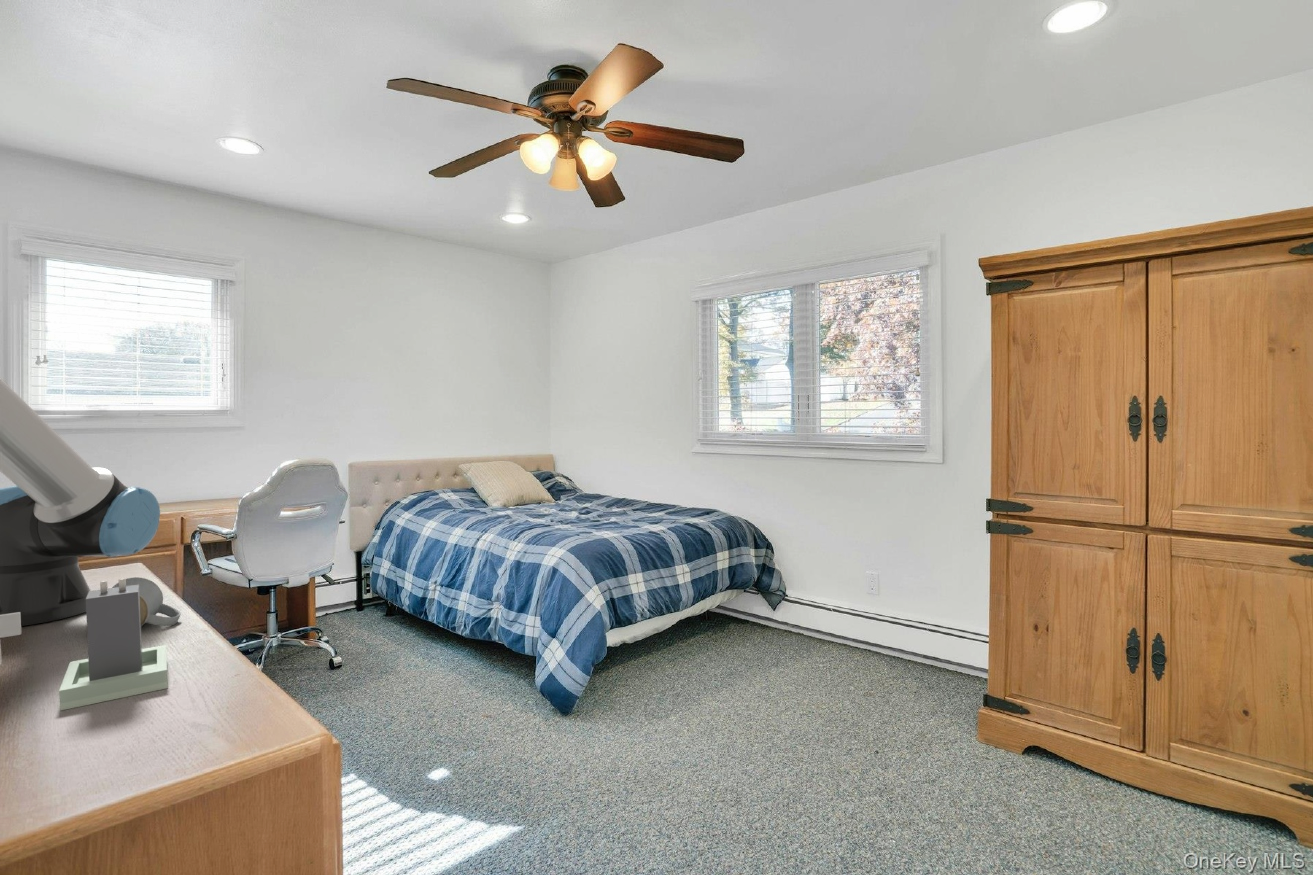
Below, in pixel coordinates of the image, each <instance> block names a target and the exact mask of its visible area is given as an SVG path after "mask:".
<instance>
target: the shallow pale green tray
mask: <svg viewBox="0 0 1313 875" xmlns="http://www.w3.org/2000/svg"><path fill="white" fill-rule="evenodd" d="M167 659H168V658H167V644H164V645H159V646H152V647H148V648H142V665H143V668H142V671H140V672H135V673H130V674H125V675H119V676H114V677H109V678H104V679H99V680H94V681H89V660H88V658H85V659H78V660H73V661H70V662H69V664H68V667H67V669H66V672H65V674H64V677H63V679H62V682H61V685H60V687H59V690H58V692H59V693H58V696H59V699H58V700H59V711H60V712H61V711H64V710H70V709H75V708H79V707H84V706H88V705H93V704H97V703H103V702H108V701H112V700H113V701H114V700H117V699H122V698H127V697H133V696H137V695H142V694H146V693H150V692H151V693H152V692H156V691H160V690H165V689H168V687H169V686H168V660H167Z"/></svg>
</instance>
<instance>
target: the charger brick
mask: <svg viewBox="0 0 1313 875" xmlns="http://www.w3.org/2000/svg"><path fill="white" fill-rule="evenodd" d="M126 579H127V578H118V582H119V587H116V588H112V587H109V588H108V586H109V585H108V580H101V581H100V582H99V588H100V589H95V590H91V591H89V593H88V595H87V597H86V612H85V613H86V614H85V615H86V632H87V655H88V656H87V657H88V658H87V659H88V660H89V681H94V680H99V679H104V678H109V677H114V676H119V675H125V674H130V673H135V672H140V671H142V668H143V665H142V649H143V647H142V644H143V643H142V626H141V620H140V597H139V585H131V586H126Z"/></svg>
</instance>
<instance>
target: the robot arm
mask: <svg viewBox="0 0 1313 875" xmlns="http://www.w3.org/2000/svg"><path fill="white" fill-rule="evenodd" d="M0 473H1V474H3V475H4V476H5V477H6V478H7V479H8V480H9V481H11V482H12V483H13V484H14V486H8V487H3V488H0V639H1V638H6V637H13V636H19V635H22V627H24V626H30V625H37V624H42V623H47V622H54V621H58V620H62V619H67V618H70V617H73V616H77V615H81V614H83V613H86V597H87V595H88V593H89V591H92V590H91V588H90V587H89V586H90V585H88V582H87V581H86V579H85V577H84V574H83V572H82V571H81V568H80V566H79V565H80V564H79V557H101V558H102V557H104V558H105V557H108V558H115V557H116V558H117V557H118V556H119V557H122V556H124V557H125V556H130V555H131V556H132V555H133V554H136V553H138V552H141V551H142V550H143V549H145V548H146V547H147V546H149V544H150V543H151V541H152V540H153V538H154V537H155V536H156V534H157V531H158V529H159V525H160V516H161V509H160V504H159V501H158V499H157V497H156V496H155V494H153V492H152V491H149V489H145V488H141V487H139V486H131V487H128V486H126V485H124V483H122V481H120V480H119V478H118V477H116V476H115V475H114V473H112V472H111V471H110V470H108V469H107V468H105V467H92V466H90V465H89V464H88V463H87V462H86V461H85V460H84V459H83V457H81V456H80V454H78V453H77V452H76V451H75V450H74V449H73V448H72V446H70V445H69V444H68V443H67V442H66V441H65V440H64V439H63V438H62V437H61V436H60V435H59V434H58V433H57V432H56V431H55V430H54V429H53V428H52V427H51V426H50V425H49V424H48V423H47V422H46V421H45V420H44V419H43V418H42V417H41V416H40V415H39V414H38V413H37V412H36V411H35V410H34V409H32V408H31V406H29V404H28V403H27V402H26V401H25V400H23V399H22V397H21V396H19V394H17V392H15V391H14V390H13V389H12V388H11V387H10V386H9V385H8V384H7V382H5V381H4V380H3V379H2V378H1V377H0ZM2 662H3V661H2V646H1V640H0V666H1V665H2Z"/></svg>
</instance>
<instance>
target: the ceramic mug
mask: <svg viewBox="0 0 1313 875" xmlns="http://www.w3.org/2000/svg"><path fill="white" fill-rule="evenodd" d="M125 579H126V586H131V585H139V597H140V620H141V627H143V626H144V625H145V624H149V625H153V626H161V627H170V626H174V625H176V624H177V623H178V621H179V619H180V618H181V612H180V611H179V610H178V609H177V608H174V607H172V606H170V605H168V604H165V603H163V602H164V594H163V591H162V590H161V588H160V586H159V585H158V584H156V583H155V582H153V581H152V580H150V579H148V578H145V577H136V576H135V577H128V578H125ZM116 587H119V581H118V582H117V583H115V584H114V585H113V586H112V587H111V588H116ZM157 614H162V615H163V616H161V615H157Z"/></svg>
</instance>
